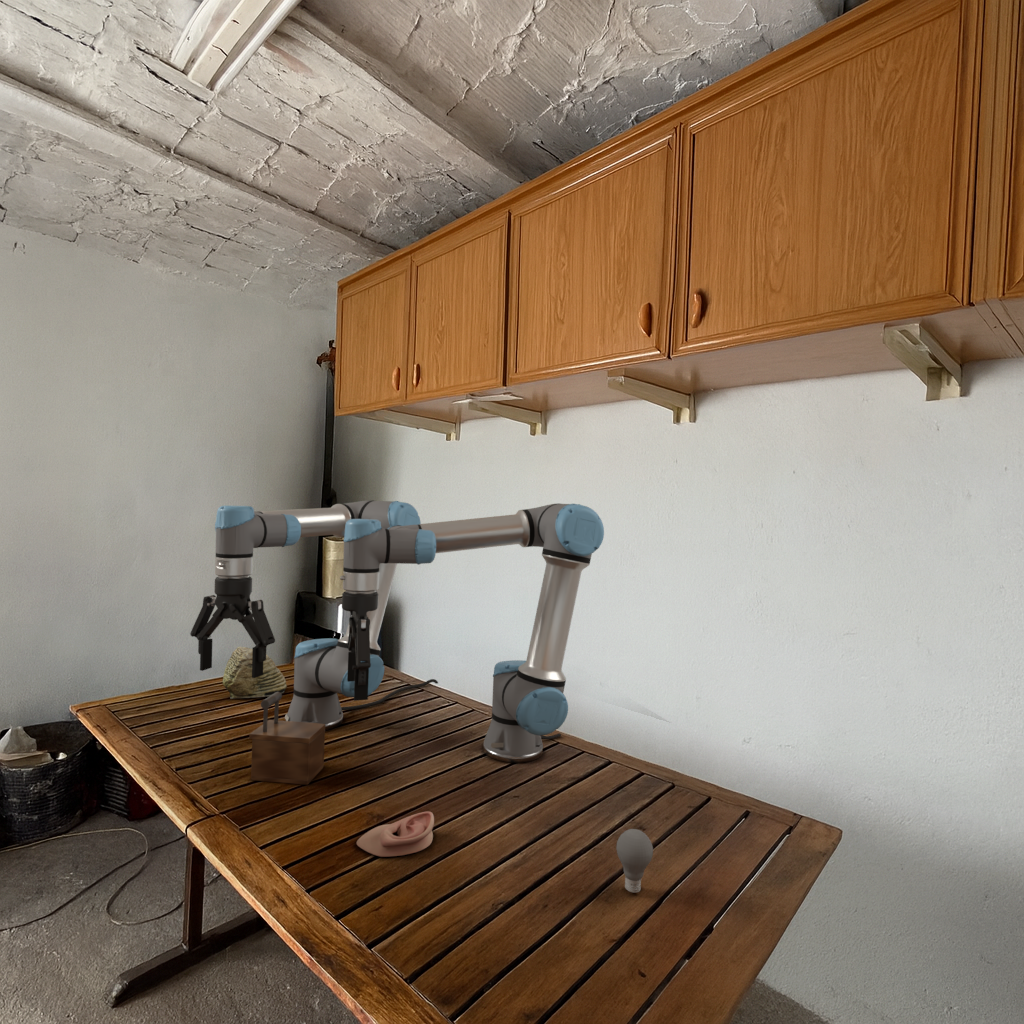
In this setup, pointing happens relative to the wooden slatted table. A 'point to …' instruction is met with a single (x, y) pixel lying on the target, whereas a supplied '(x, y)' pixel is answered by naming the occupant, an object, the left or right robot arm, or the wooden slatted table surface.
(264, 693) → the fossil
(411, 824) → the anatomical model
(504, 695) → the right robot arm
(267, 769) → the chest
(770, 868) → the wooden slatted table surface
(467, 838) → the wooden slatted table surface
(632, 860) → the light bulb
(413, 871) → the wooden slatted table surface
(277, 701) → the lid
